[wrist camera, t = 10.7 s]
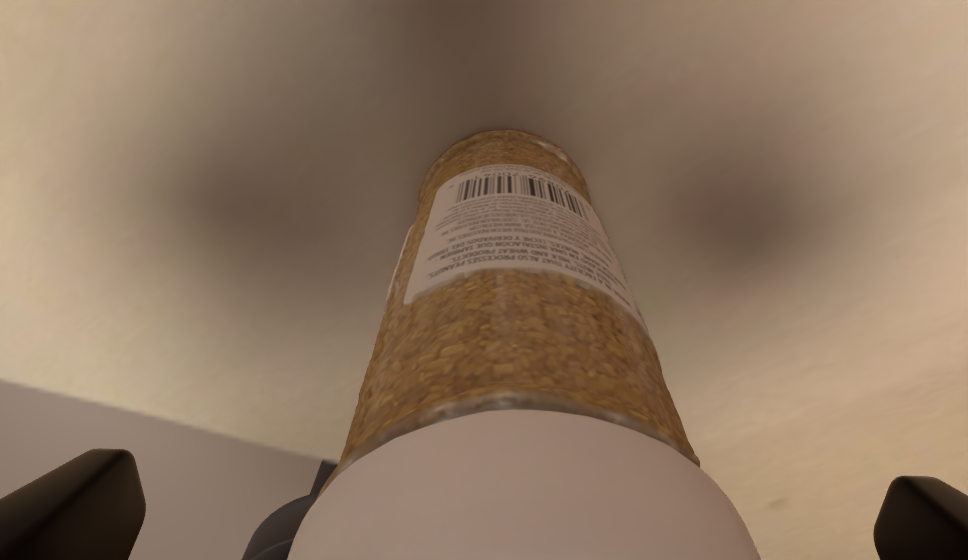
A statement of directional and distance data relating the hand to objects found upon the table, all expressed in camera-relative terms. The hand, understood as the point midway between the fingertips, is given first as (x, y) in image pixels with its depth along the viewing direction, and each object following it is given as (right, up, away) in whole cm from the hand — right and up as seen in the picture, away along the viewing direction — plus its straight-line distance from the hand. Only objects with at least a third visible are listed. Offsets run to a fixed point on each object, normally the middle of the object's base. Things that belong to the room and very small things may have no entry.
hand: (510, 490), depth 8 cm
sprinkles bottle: (0, +4, +9) cm, 10 cm away
